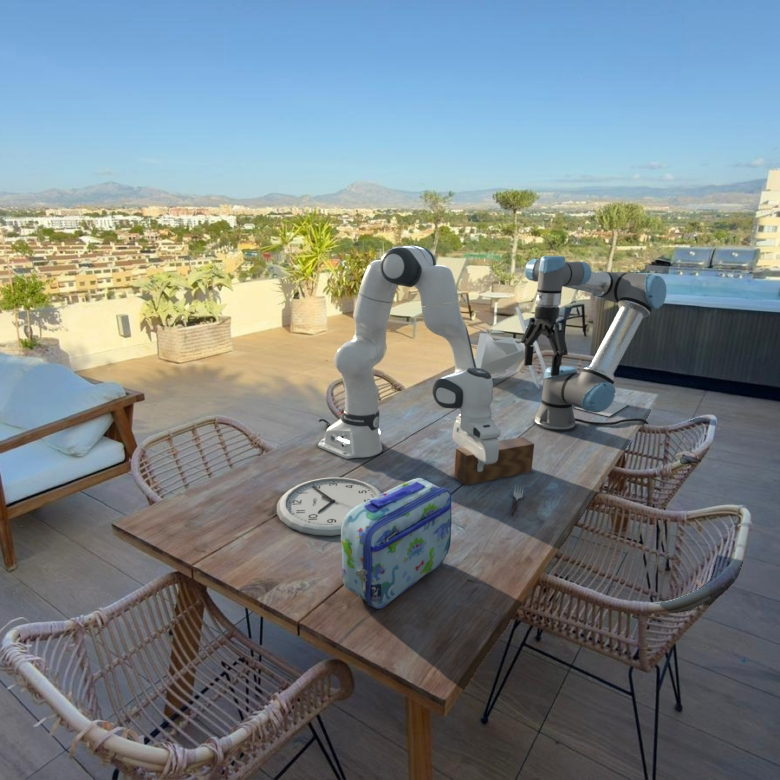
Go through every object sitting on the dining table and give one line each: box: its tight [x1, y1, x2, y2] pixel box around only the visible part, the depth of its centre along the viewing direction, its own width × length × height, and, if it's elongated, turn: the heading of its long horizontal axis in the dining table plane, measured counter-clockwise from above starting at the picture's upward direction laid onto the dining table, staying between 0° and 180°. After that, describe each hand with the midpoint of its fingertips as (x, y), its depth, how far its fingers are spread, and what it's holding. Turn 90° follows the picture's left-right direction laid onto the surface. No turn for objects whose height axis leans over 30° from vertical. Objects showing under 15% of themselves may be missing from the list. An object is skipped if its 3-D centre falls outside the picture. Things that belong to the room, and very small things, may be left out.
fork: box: [511, 484, 525, 517], centre depth 145 cm, size 3×16×2 cm, turn 160°
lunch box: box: [340, 477, 452, 610], centre depth 110 cm, size 26×11×21 cm, turn 134°
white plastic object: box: [474, 306, 547, 390], centre depth 260 cm, size 37×45×31 cm
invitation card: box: [573, 400, 629, 418], centre depth 226 cm, size 21×1×15 cm
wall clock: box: [276, 476, 383, 537], centre depth 142 cm, size 30×2×30 cm
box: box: [454, 436, 535, 486], centre depth 161 cm, size 24×6×10 cm, turn 113°
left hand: (472, 465), depth 158 cm, fingers closed on box, 6 cm apart
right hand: (540, 370), depth 173 cm, fingers open, 13 cm apart
